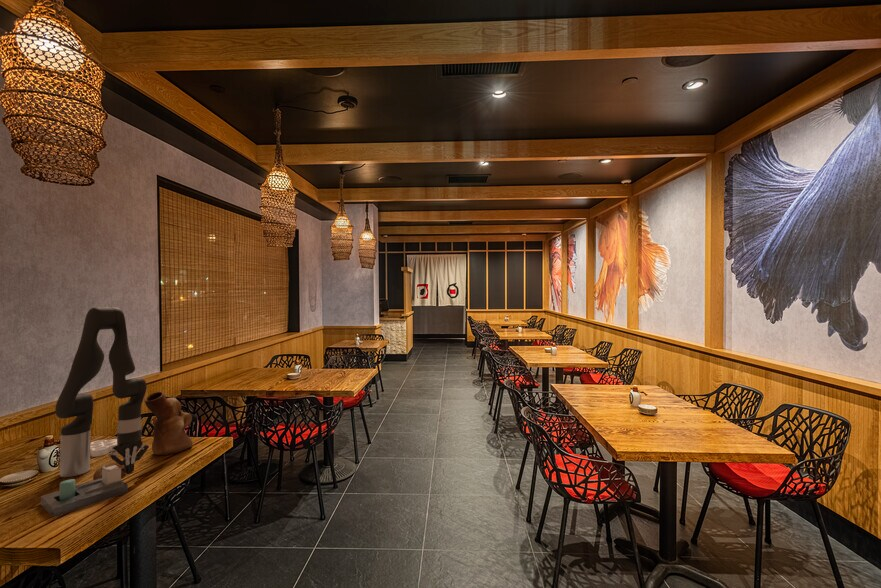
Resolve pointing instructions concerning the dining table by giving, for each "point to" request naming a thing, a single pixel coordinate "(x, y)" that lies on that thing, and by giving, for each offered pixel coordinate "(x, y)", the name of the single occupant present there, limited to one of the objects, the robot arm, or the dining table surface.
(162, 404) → the ceramic vessel
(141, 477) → the dining table surface
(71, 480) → the peg
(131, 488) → the dining table surface
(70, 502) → the housing
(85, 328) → the robot arm
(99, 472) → the bread roll
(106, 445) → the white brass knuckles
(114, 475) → the block
